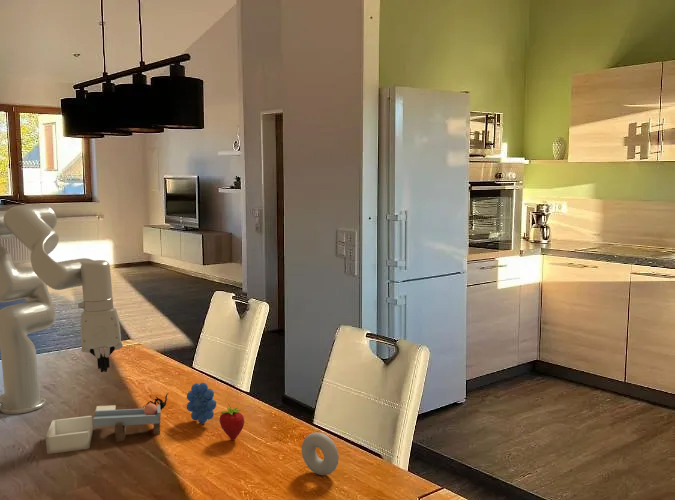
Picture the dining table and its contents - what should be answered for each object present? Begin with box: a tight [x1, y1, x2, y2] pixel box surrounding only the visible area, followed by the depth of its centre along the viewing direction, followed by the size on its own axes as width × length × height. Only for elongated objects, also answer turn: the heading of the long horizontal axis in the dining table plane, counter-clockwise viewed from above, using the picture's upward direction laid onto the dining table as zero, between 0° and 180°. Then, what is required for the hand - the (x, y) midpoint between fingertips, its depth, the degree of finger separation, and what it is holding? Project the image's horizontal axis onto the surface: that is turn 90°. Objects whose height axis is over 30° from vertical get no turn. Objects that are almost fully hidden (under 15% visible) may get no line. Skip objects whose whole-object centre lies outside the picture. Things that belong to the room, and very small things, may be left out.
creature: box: [142, 392, 169, 411], centre depth 193 cm, size 8×5×8 cm
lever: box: [92, 404, 162, 428], centre depth 179 cm, size 17×13×4 cm
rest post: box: [153, 422, 161, 436], centre depth 178 cm, size 2×5×3 cm, turn 16°
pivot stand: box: [114, 423, 127, 443], centre depth 175 cm, size 2×7×5 cm, turn 16°
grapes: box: [186, 382, 217, 425], centre depth 183 cm, size 12×7×12 cm, turn 52°
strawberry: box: [218, 404, 245, 441], centre depth 170 cm, size 6×8×10 cm
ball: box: [144, 402, 157, 415], centre depth 177 cm, size 4×4×4 cm
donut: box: [301, 431, 340, 476], centre depth 150 cm, size 10×3×10 cm, turn 54°
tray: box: [45, 415, 94, 455], centre depth 172 cm, size 10×12×4 cm
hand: (104, 370), depth 180 cm, fingers closed
